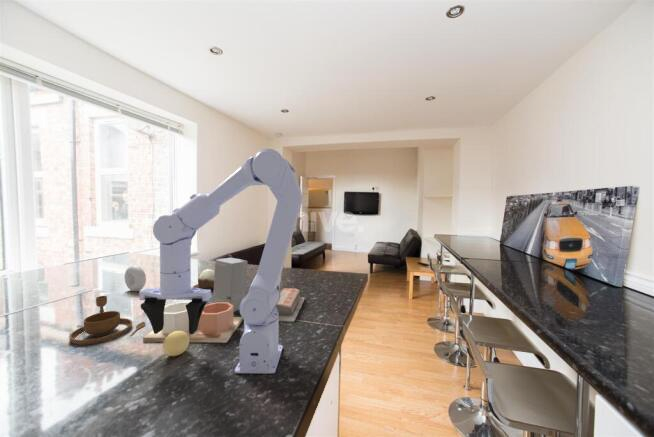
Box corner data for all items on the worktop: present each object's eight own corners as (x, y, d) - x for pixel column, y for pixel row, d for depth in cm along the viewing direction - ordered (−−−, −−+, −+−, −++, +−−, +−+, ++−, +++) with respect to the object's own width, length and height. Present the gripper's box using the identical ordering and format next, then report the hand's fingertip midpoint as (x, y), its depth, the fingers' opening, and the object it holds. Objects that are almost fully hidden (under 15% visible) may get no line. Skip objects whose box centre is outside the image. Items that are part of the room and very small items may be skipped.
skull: (193, 281, 106) (211, 263, 107) (213, 297, 108) (230, 278, 109) (184, 289, 94) (204, 269, 96) (206, 306, 96) (225, 286, 97)
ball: (181, 361, 53) (181, 337, 53) (157, 360, 53) (157, 337, 53) (193, 348, 58) (193, 326, 58) (172, 347, 58) (171, 326, 58)
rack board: (226, 342, 60) (226, 338, 60) (143, 341, 60) (143, 337, 60) (242, 320, 72) (242, 316, 72) (173, 319, 72) (173, 315, 72)
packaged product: (277, 286, 91) (305, 287, 90) (277, 299, 91) (304, 300, 90) (260, 305, 73) (294, 307, 72) (260, 321, 73) (294, 323, 72)
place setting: (38, 352, 56) (38, 326, 56) (97, 315, 76) (96, 295, 76) (129, 343, 60) (128, 319, 60) (162, 310, 80) (162, 292, 80)
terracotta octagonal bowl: (225, 334, 62) (225, 314, 62) (193, 333, 62) (193, 314, 62) (236, 320, 70) (236, 302, 70) (208, 319, 70) (208, 302, 70)
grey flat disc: (122, 290, 97) (122, 264, 96) (132, 288, 100) (132, 263, 99) (138, 294, 93) (138, 267, 92) (148, 291, 96) (147, 265, 95)
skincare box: (211, 309, 80) (211, 260, 80) (230, 301, 87) (230, 256, 86) (230, 314, 76) (230, 263, 76) (248, 306, 83) (248, 259, 82)
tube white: (185, 333, 62) (184, 313, 62) (153, 333, 62) (153, 313, 62) (200, 319, 70) (200, 302, 70) (172, 319, 70) (172, 301, 70)
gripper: (217, 266, 59) (216, 323, 59) (154, 265, 59) (155, 322, 59) (202, 274, 52) (202, 339, 52) (131, 273, 52) (132, 338, 52)
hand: (176, 331), depth 55 cm, fingers open, 7 cm apart
